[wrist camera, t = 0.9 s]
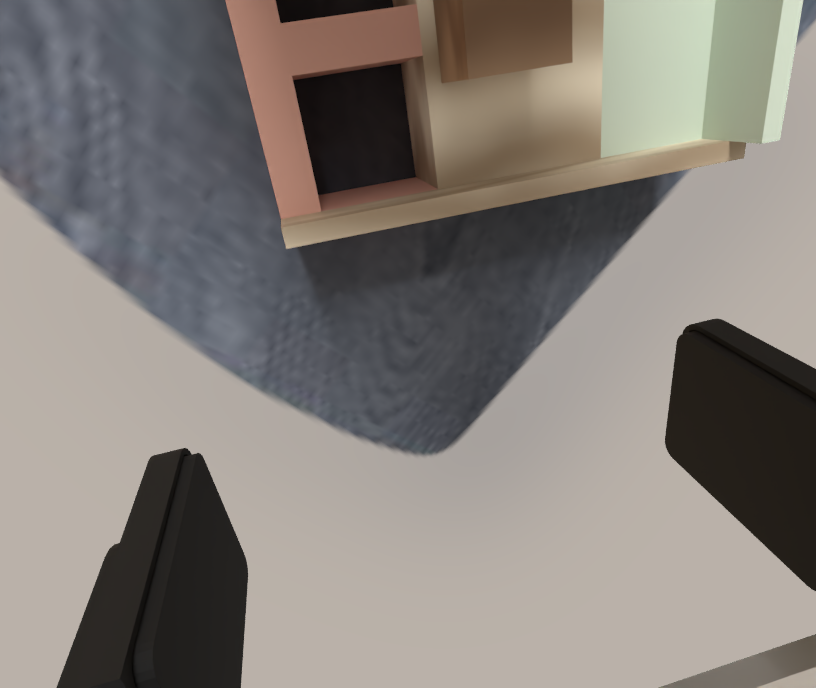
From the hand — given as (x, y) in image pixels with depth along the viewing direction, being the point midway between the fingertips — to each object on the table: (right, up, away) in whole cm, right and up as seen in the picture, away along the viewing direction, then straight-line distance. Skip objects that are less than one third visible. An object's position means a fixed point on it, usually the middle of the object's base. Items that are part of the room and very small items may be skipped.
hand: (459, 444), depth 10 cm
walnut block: (+2, +17, +14) cm, 22 cm away
